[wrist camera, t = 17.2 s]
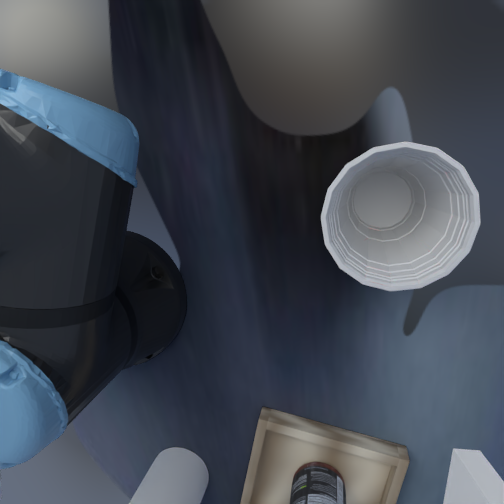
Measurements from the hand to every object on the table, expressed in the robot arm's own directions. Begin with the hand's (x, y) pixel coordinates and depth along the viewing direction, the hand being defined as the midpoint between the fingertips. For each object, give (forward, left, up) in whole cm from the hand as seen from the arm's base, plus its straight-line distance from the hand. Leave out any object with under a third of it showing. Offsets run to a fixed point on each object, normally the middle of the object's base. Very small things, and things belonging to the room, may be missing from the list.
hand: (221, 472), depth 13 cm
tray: (+7, -26, -33) cm, 43 cm away
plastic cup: (+6, +6, -33) cm, 34 cm away
